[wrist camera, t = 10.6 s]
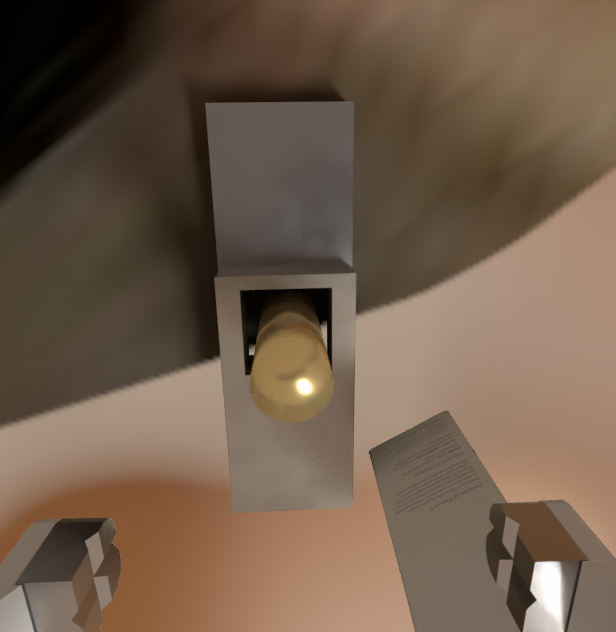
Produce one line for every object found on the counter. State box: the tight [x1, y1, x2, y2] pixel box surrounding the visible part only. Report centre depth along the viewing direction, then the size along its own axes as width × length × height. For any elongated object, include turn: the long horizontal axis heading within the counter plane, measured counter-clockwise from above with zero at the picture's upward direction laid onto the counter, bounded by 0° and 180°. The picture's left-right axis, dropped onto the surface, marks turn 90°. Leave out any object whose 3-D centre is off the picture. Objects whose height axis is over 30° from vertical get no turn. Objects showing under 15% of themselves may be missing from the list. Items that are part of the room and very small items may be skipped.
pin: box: [250, 289, 334, 423], centre depth 21 cm, size 3×3×9 cm
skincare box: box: [369, 411, 520, 632], centre depth 22 cm, size 8×6×15 cm
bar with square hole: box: [205, 101, 356, 513], centre depth 24 cm, size 7×22×3 cm, turn 1°
